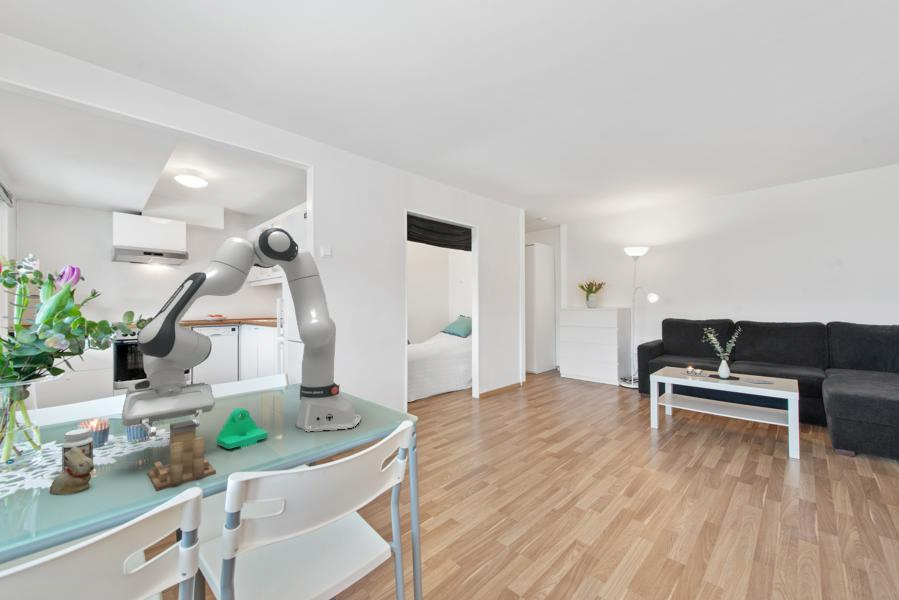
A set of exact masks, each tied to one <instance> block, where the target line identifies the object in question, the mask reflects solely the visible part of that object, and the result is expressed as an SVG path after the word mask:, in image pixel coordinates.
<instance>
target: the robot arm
mask: <svg viewBox="0 0 899 600" xmlns="http://www.w3.org/2000/svg"><path fill="white" fill-rule="evenodd" d="M277 265H278V266H279V267H281V268H280V269H282V270H283V272H284V274H285V276H286V281H287V285H288V287H289V292H290V295H291V298H292V301H293V303H292V304H293V306H294V307H293V308H294V312H295V313H294V315H295V319H296V325H297V329H298V334H299V339H300V340H301V343H303V355H302V361H301V383H300V385H299V386H300V388H299V400H300V404H299V411H298V415H297V420H296V423H295V426H296V427H297V428H299V429H302V430H303V431H305V432H306V431H307V432H306V433H311V432H310V431H314V432H324V431H323V430H330V431H338V430H337V429H345V428H352V427H354V426H356V425H357V424H358V423H359V422H360V420H361V421H362V416H361V415H360V414H357V413H356V410H355V406H354V403H353V402H352V401H350V400H349V399H348V398H347V397H345V396H344V395H342V394H341V393H340V386H341V385H340V383H339V384H337V383H336V382H334V381H335V354H336V353H335V352H336V350H335V349H336V338H337V337H336V335H337V328H336V327H337V326H336V322H335V321H334V320H333V319H332V318H331V317H330V312H329V309H328V304H327V303H328V302H327V297H326V293H325V289H324V286H323V283H322V280H321V275H320V273H319V269H318V267H317V264H316V261H315V260H314V256H312V254H311V252H310V251H309V250H307V249H305V248H299V245H298V243H296V241H295V240H294V238H293V236H292V235H291V234H290V233H289V232H287V230H285V229H282V228H280V227H271V228H267V229H265V230H264V231H262V232H261V233H260V234H259V235H257V236H256V237H255V238H254V240H247V239H245V238H242V237H238V236H237V237H236V236H232V237H229V238H226V239H225V240H224V242H223V243H222V244H221V245H220V246H219V247H218V249H217V250H216V251H215V253H214V254H213V256H212V257H211V260H210V261H209V263H208V264H207V266H206V267H205V268H204V269H203V270H202V271H200V272H199V271H198V272H194V273H192V274H190V275H189V276H188V277H187V278H185V280H184V281H182V283H181V284H180V285H179V287H178V288H177V289H176V290H175V291H174V293H172V295H171V296H170V297H169V299H168V300H167V301H166V302H165V304H164V305H163V306H162V307H161V309H160V310H159V311H158V312H157V313H156V315H155V316H154V317H153V318H152V319H151V320H149V321H148V322H147V323H146V324H145V325H144V326H143V327H142V328H141V329H140V330H139V333H137V339H136V340H137V342H136V343H137V346H138V348H139V350H140V353H142V354H143V355H142V356H143V357H142V361H143V370H144V373H145V374H146V379H144V380H140V381H138V382H134V383H132V384H129V386H128V388H127V391H126V394H125V399H124V402H123V406H122V413H121V424H122V425H123V426H124V427H131V426H132V427H133V426H138V425H140V428H141V429H143V430H144V431H145V432H146V433H147V437H148V438H152V437H156V435H157V427H156V426H151V425H150V424H149V423H154V422H160V421H165V420H171V419H176V418H181V417H187V416H193V415H194V417H195V418H194V419H191V420H192V421H193V422H194V423H196V428H199V427H200V425H201V423H200V419H201V416H202V413H203V414H204V413H209V412H211V411H212V410H213V409H215V408H214V407H215V405H216V400H215V397H214V394H213V388H212V386H211V385H212V384H208V383H205V382H199V383H190V384H189V383H188V384H187V380H186V379H187V378H186V374H185V371H188V370H191V369H193V368H195V367H196V366H198V365H200V364H202V363H203V362H205V361H206V360H207V359H209V357H210V355H211V352H212V345H213V344H212V341H211V339H210V337H209V336H208V335H205V334H203V333H201V332H198V331H195V330H192V329H189V328H186V327H184V326H182V325H180V321H181V320H182V318H183V317H184V316H185V314H186V313H188V311H189V310H190V308H191V307H192V306H193V304H194V303H195V301H197V300H199V298H201V297H204V296H215V297H229V296H231V295H234V294H236V293H238V292H239V291H241V289H242V288H243V286H244V284H245V282H246V280H247V278H248V276H249V274H250V272H251V270H252V268H253V267H256V268H257V267H258V268H263V269H269V268H273V267H275V266H277ZM360 423H361V422H360ZM360 423H359V424H360ZM357 426H358V425H357ZM357 426H356V427H357ZM354 428H355V427H354ZM352 429H353V428H352ZM345 430H346V429H345Z"/></svg>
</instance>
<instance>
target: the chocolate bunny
mask: <svg viewBox="0 0 899 600" xmlns="http://www.w3.org/2000/svg"><path fill="white" fill-rule="evenodd" d="M63 458H64V460H65V462H66V463H67V466H68V468H67V470H66V471H65V472H61V473H59V474H58V475H57V476H56V477H54V478H53V479H54V480H53V481H52V484H51V485H50V487H49V491H50V493H51V494H52V493H53V495H59V494H60V495H71V494H76V493H80V492H83V491H86V490H88V489H89V488H90V486H91V485H90V481H91V479H92V474H91V473H92V471H93V470H94V468H95V465H94V459H93V460H92V459H91V458H88V457H87V456H85V455H84V454H83V452H82V451H81V450H80V449H79V448H78V447H73V448H71V450H69V451H68V452H66V453H64V455H63Z"/></svg>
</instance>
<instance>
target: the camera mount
mask: <svg viewBox="0 0 899 600" xmlns="http://www.w3.org/2000/svg"><path fill="white" fill-rule="evenodd" d="M221 428H222V429H221V430H220V431H219V433H218V434H217V436H216V442H215V443H216V444H217V445H220V446H221V447H223V448H225V449H229V450H230V449H233V448H236V447H237V448H239V447H240V449H244V448H247V447H250V446H253V445H252V444H254V445H256V443H258V441H260V440H263V439H266V438H268V431H266V430H264V429H261V428H260V427H259V426H258V425H257V424H256V422H255V421H254V420H253V419H252V417H251V415H250V411H248V410H246V409H243V408H241V407H236V408H235V409H234V410H232V411H231V412H230V415H229V416H228V418H227V419H226V421H225V423H224V425H223V426H222V427H221ZM249 445H250V446H249ZM246 446H247V447H246ZM243 447H244V448H243Z"/></svg>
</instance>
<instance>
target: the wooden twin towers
mask: <svg viewBox="0 0 899 600" xmlns="http://www.w3.org/2000/svg"><path fill="white" fill-rule="evenodd" d="M169 465H170V471H169ZM215 474H217V470H216V468H214V466H213V465H211V463H210V461H209V460H208V459H207V458H206V457H205V437H203V436H202V437H195V439H193V453H192V471H191V472H187V473H184V474H183V442H176V443H173V444H171V459H170V458H169V464H168V465H164V466H163V464H162V462H161V461H155V462H154V463H153V469H149V470H147V475H148V477H149V479H150V482H151V483H152V485H153V487H154V489H155V490H156V492H157V491H161V490H165V489H168V488H172V487H174V486H178V484H179V485H182V484H185V483H188V481H189V482H192V481H195V480H198V479H202V478H205V477H209V476H213V475H215ZM184 482H185V483H184ZM181 483H182V484H181Z"/></svg>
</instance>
